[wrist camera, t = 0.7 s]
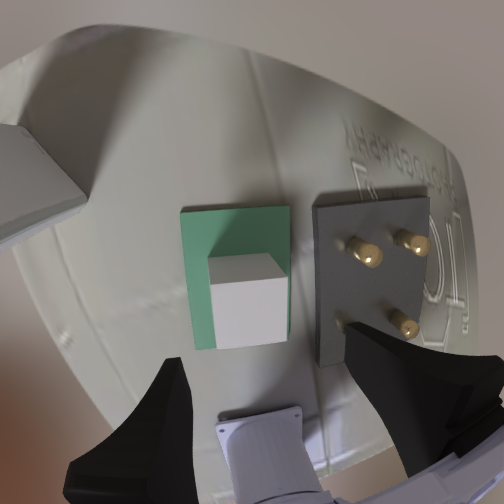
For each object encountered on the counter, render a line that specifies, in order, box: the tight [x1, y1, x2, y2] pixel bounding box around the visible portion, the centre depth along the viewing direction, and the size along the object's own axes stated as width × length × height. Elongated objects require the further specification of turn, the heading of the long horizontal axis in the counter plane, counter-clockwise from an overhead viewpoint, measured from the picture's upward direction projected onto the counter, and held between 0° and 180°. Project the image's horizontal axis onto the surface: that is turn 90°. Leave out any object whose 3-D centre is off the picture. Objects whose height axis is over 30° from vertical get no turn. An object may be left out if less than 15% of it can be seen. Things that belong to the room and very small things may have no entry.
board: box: [180, 205, 290, 350], centre depth 18 cm, size 10×7×5 cm
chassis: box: [312, 195, 431, 368], centre depth 21 cm, size 13×10×4 cm
